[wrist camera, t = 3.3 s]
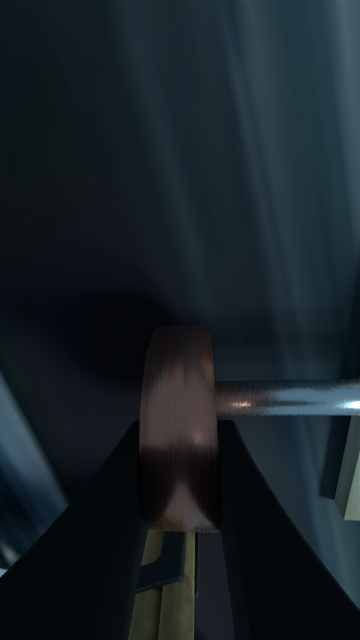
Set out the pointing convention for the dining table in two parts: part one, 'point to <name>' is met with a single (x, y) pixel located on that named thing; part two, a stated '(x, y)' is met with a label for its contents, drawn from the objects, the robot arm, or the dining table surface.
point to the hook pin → (207, 423)
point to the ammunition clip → (166, 587)
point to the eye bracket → (350, 474)
